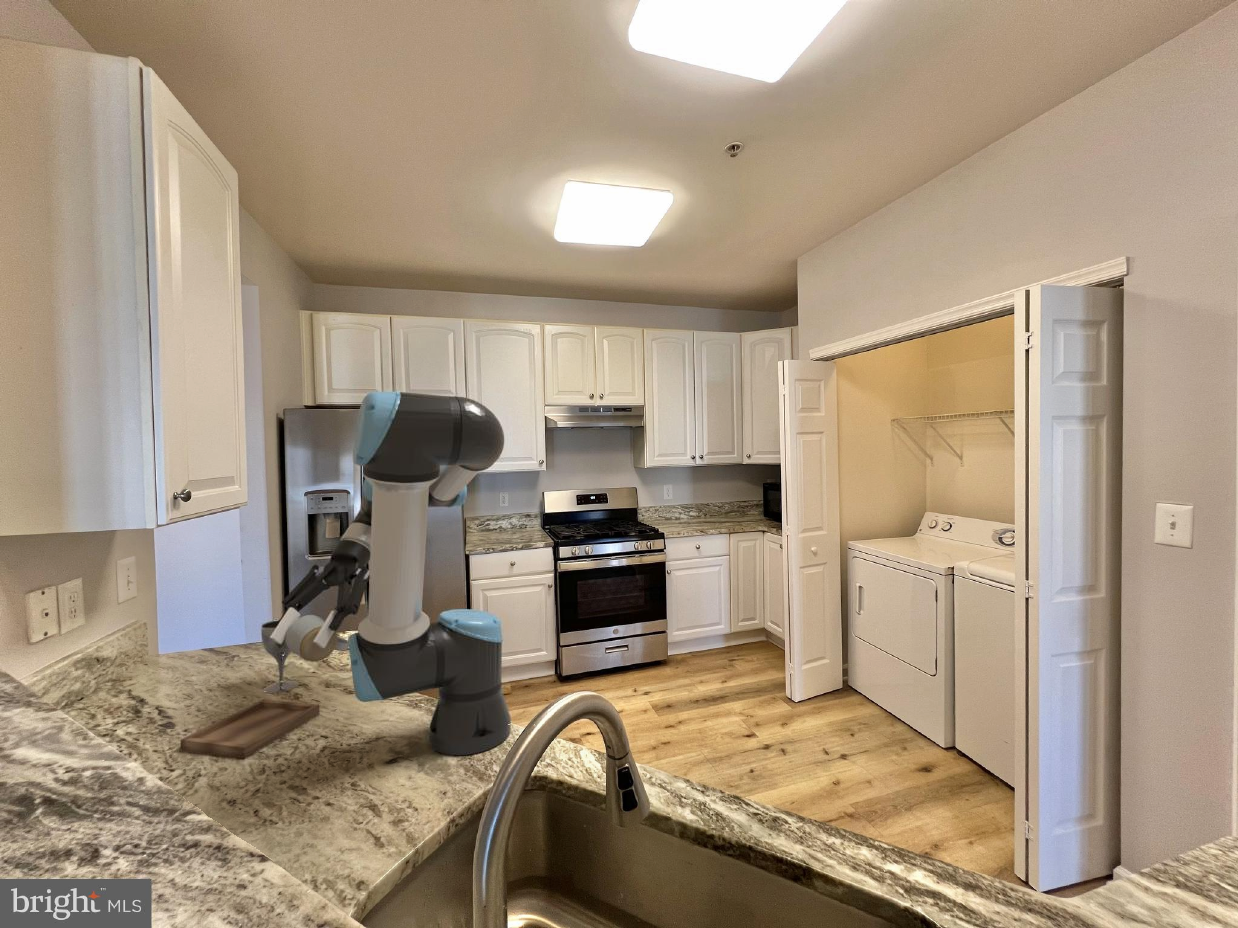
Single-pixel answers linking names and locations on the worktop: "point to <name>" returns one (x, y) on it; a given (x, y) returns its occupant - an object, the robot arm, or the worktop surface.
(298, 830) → the worktop surface
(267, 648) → the wine glass
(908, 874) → the worktop surface
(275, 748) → the worktop surface
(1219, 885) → the worktop surface
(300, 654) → the ceramic mug
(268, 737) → the walnut tray
